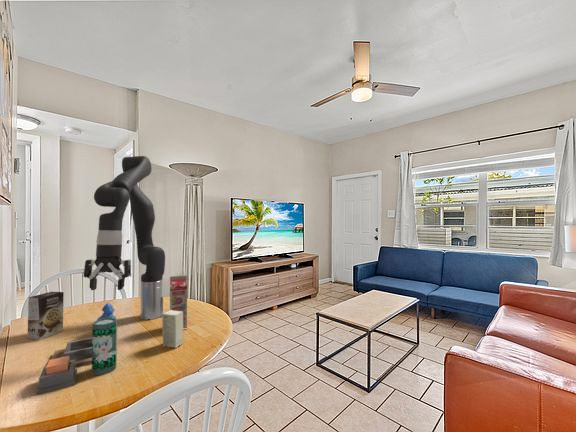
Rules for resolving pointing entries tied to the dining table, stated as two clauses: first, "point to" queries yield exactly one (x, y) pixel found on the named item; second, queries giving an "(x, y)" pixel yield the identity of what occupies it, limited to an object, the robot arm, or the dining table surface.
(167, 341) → the skincare box
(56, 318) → the coffee box
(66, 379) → the button housing
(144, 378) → the dining table surface
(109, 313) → the grapes
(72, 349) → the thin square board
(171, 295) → the juice carton
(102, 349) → the can
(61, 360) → the button
